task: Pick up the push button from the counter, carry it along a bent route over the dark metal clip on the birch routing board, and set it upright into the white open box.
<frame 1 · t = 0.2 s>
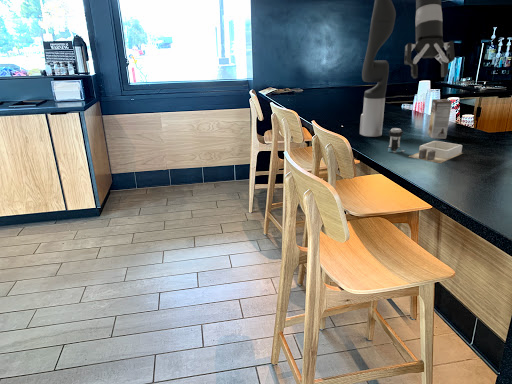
hand: (429, 77, 118), 31 cm above the worktop, tool tilted 20°, fingers open, 8 cm apart
push button: (395, 154, 150), on the worktop
white open box: (439, 153, 145), resting on routing board
coffee box: (436, 136, 175), on the worktop
routing board: (435, 157, 144), on the worktop
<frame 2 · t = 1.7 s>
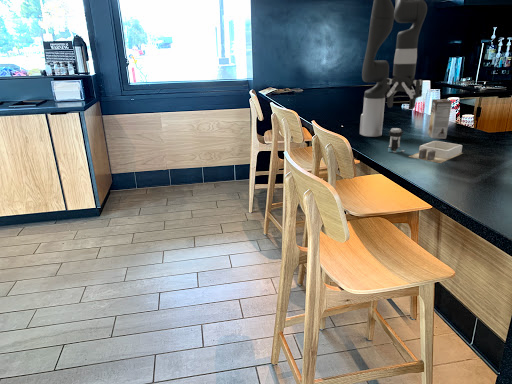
hand: (400, 108, 143), 18 cm above the worktop, tool pointing down, fingers open, 8 cm apart
nothing on the worktop moved.
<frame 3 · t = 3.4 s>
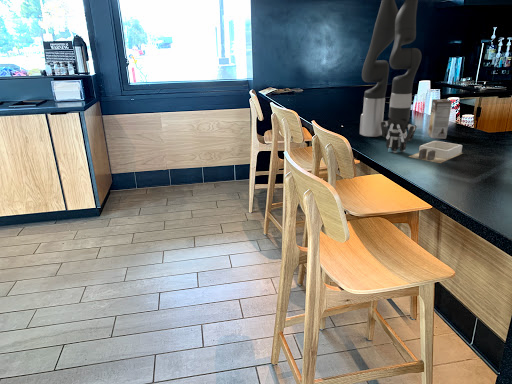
hand: (395, 149, 149), 2 cm above the worktop, tool pointing down, fingers closed on push button, 5 cm apart
push button: (395, 154, 150), on the worktop, touching gripper
everything else where it was.
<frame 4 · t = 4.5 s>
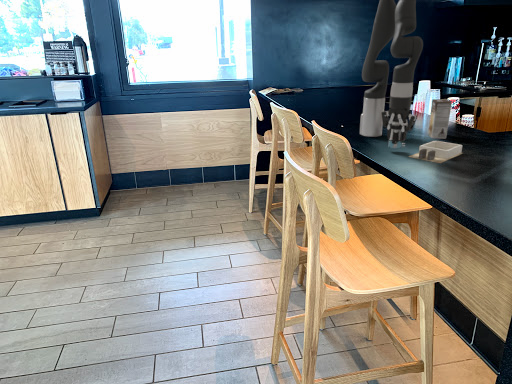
hand: (396, 139, 148), 6 cm above the worktop, tool pointing down, fingers closed on push button, 4 cm apart
push button: (395, 147, 149), point 3 cm above the worktop, touching gripper
everything else where it was.
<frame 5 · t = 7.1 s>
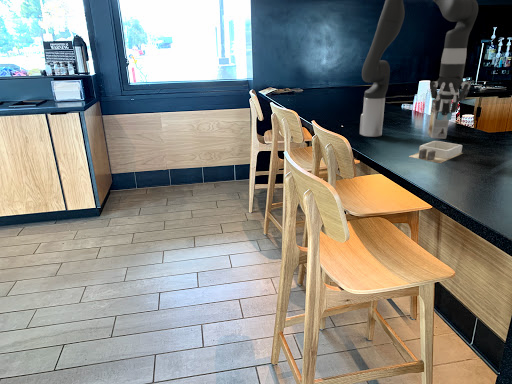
hand: (445, 111, 140), 17 cm above the worktop, tool pointing down, fingers closed on push button, 4 cm apart
push button: (445, 120, 140), point 14 cm above the worktop, touching gripper
everything else where it was.
when the fingers open (5 cm above the worktop, at t = 9.6 s): push button stays where it is, resting on routing board.
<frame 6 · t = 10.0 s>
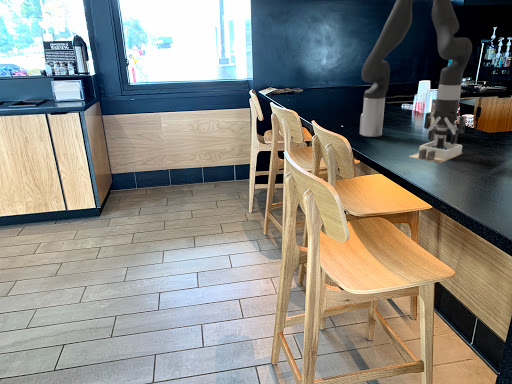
hand: (441, 142, 144), 5 cm above the worktop, tool pointing down, fingers open, 7 cm apart
push button: (440, 154, 145), point 1 cm above the worktop, touching routing board
everything else where it was.
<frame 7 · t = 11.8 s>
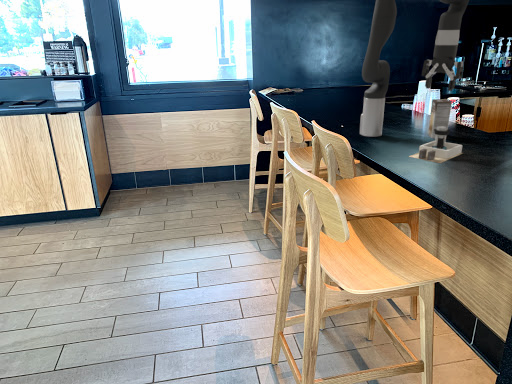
hand: (438, 89, 146), 24 cm above the worktop, tool pointing down, fingers open, 8 cm apart
nothing on the worktop moved.
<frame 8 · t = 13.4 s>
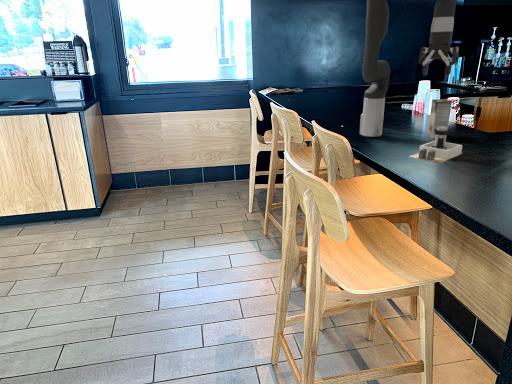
hand: (435, 75, 150), 28 cm above the worktop, tool pointing down, fingers open, 8 cm apart
nothing on the worktop moved.
at the end: push button 0.4 cm off-centre on the white open box, point 0.0 cm above the white open box's base; push button tilted 0°; the gripper is holding nothing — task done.
